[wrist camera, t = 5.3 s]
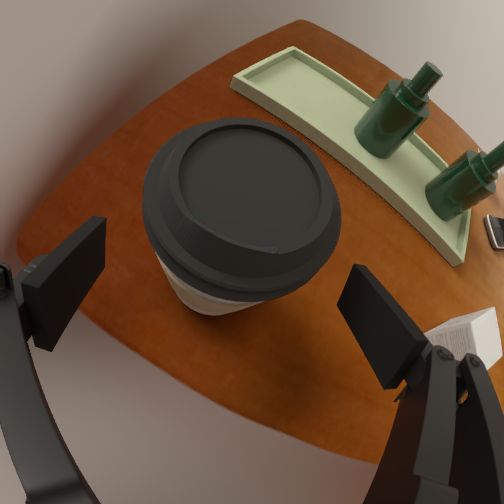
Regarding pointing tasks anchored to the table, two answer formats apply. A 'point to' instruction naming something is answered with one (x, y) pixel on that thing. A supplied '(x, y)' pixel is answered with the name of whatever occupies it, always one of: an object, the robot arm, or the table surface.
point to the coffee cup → (238, 213)
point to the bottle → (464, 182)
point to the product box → (470, 336)
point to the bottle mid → (397, 113)
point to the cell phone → (495, 231)
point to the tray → (353, 139)
